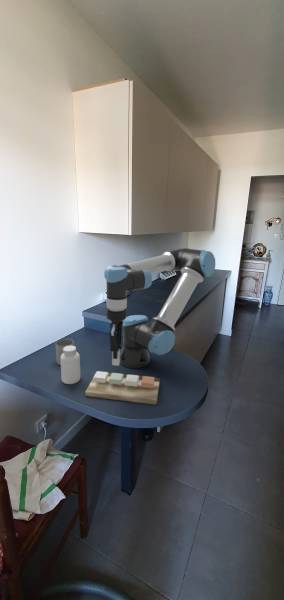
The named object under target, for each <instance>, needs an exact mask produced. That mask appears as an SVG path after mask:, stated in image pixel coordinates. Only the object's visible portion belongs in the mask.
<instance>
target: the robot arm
mask: <svg viewBox="0 0 284 600" xmlns="http://www.w3.org/2000/svg"><path fill="white" fill-rule="evenodd" d="M215 270H216V258H215V255H214V254H213V253H212V251H209V250H205V249H194V248H189V247H188V248H186V247H184V248H178V249H172V250H169V251H165V252H163V253H162V254H160V255H158V256H153V257H150V258H145V259H141V260H137V261H133V262H129V263H126V264H121V265H117V264H110V265H107V267H106V268H105V270H104V272H103V273H104V279H105V281H106V282H105V283H106V299H105V300H104V301H105V302H106V319H107V320H109V321H111V323H110V325H109V327H110V328H109V329H110V330H109V331H108V334H109V345H110V349H109V351H110V352H112V353H111V366H118V367H119V366H120V364H121V366H123V367H125V368H131V369H138V368H139V369H140V368H144V367H146V366H148V365H149V364H150V362H151V361H150V359H151V358H150V357H151V356H150V353H152V354H156V355H158V356H163V355H165V354H167V353H168V352H170V351H171V350H172V349H173V347H174V345H175V342H176V341H175V340H176V336H175V335H176V334H175V332H176V327H175V325H176V323H177V321H178V320H179V318H180V316H181V314H182V312H183V311H184V309H185V307H186V305H187V303H188V301H189V300H190V298H191V297H192V294H193V293H194V291H195V289H196V287H197V285H198V284H200V283H203V281H204V279H205V278H206V277H207V278H208V277H211V276H212V275H213V274H214V272H215ZM165 271H166V272H172V271H177V272H178V271H179V272H180V273H181V275H180V276H179V278H178V280H177V282H176V283H175V285H174V287H173V289H172V291H171V293H170V294H169V296H168V297H167V299H166V301H165V303H164V304H163V306H162V308H161V310H160V311H159V313H158V314H157V316H155V317H152V319H151V320H150V322H148V321H149V318H148V316H146V315H143V314H134V315H133V314H132V315H129V316H127V306H128V305H127V304H128V302H127V301H128V298H127V297H128V292H133V291H134V292H135V291H140V290H141V291H142V290H145V289H149V288H150V287H151V286H152V284H153V276H152V275H154V274H157V273H163V272H165ZM122 342H123V343H122ZM121 345H122V346H121ZM149 352H150V353H149Z"/></svg>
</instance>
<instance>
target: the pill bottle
mask: <svg viewBox="0 0 284 600" xmlns="http://www.w3.org/2000/svg"><path fill="white" fill-rule="evenodd" d="M80 358H81V356H80V353H79V352H77V347H76V346H75V345H74V346H66V347H64V348H63V354H62V355H61V358H60V359H61V365H60V373H61V375H60V376H61V381H62V383H64V384H66V385H73V384H77V383H78V382H79V381H80V380H81V359H80Z"/></svg>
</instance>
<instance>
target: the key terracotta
mask: <svg viewBox="0 0 284 600" xmlns="http://www.w3.org/2000/svg"><path fill="white" fill-rule="evenodd" d="M142 377H143V378H142V382H141V387H146V388H153V386H154V379H155V378H156V377H154V376H146V375H142Z"/></svg>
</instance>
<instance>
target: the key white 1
mask: <svg viewBox="0 0 284 600" xmlns="http://www.w3.org/2000/svg"><path fill="white" fill-rule="evenodd" d="M95 373H96V374H94V376H93V377H92V379H93V381H94V382H101V383H105V382H106V380H107V378H108V373H109V372H108V371H98V370H97V371H95Z"/></svg>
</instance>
